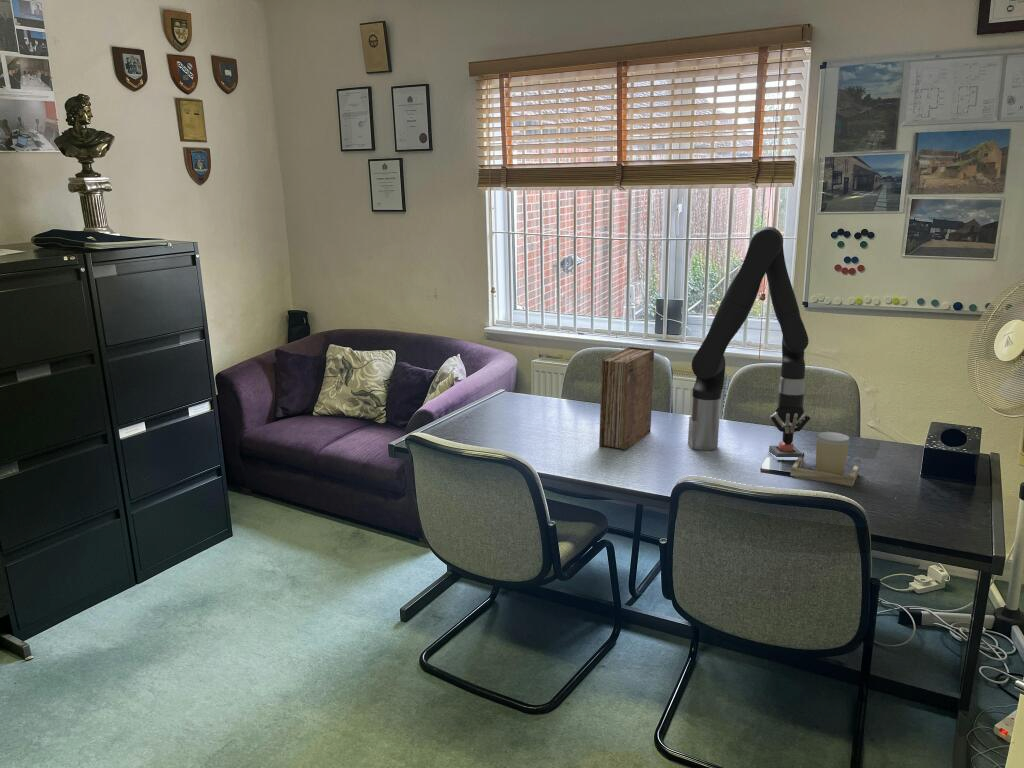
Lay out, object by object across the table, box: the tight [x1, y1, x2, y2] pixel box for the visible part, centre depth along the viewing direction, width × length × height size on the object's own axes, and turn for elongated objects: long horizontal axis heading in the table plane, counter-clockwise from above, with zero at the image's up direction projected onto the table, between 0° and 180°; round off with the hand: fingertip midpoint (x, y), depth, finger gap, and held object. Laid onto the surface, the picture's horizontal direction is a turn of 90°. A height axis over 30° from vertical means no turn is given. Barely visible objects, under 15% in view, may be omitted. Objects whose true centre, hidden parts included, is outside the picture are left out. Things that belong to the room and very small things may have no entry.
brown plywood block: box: [598, 346, 655, 452], centre depth 259 cm, size 25×9×30 cm, turn 151°
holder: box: [790, 457, 859, 487], centre depth 228 cm, size 12×17×2 cm
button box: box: [768, 445, 804, 458], centre depth 245 cm, size 8×8×2 cm
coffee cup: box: [815, 431, 851, 475], centre depth 228 cm, size 9×9×12 cm
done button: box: [778, 441, 795, 452], centre depth 244 cm, size 4×4×3 cm
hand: (787, 443), depth 244 cm, fingers closed
